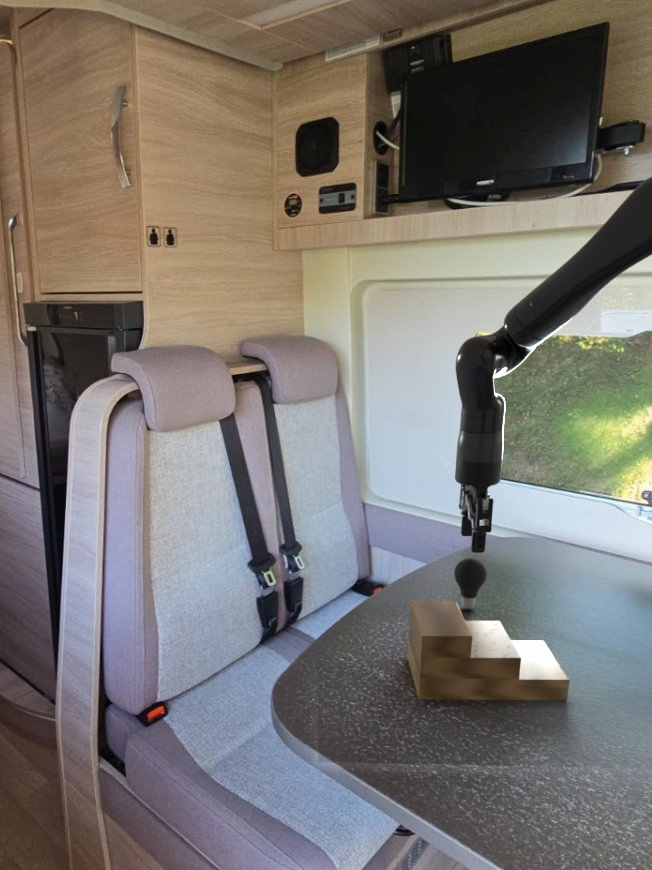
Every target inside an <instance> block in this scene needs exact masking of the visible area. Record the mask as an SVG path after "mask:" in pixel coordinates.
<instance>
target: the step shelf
mask: <svg viewBox="0 0 652 870" xmlns="http://www.w3.org/2000/svg"><path fill="white" fill-rule="evenodd" d="M408 622H409V625H408V645H407V646H408V648H407V661H408V665H409V668H410V671H411V675H412V679H413V683H414V685H415V687H414V688H415V690H416V694H417V697H418V700H440V701H441V700H443V701H445V700H447V701H449V700H451V701H452V700H453V701H455V700H457V701H460V700H461V701H540V702H542V701H543V702H544V701H545V702H547V701H550V702H553V701H554V702H567V701H568V694H569V687H570V678H569V677H568V676H567V674H566V672H565V671H564V669H563V668H562V666H561V665H560V663H559V661H558V660H557V659H556V657H555V655H554V654H553V652H552V651H551V649H550V648H549V647H548V644H547V643H546V642H545V640H543V639H542V640H541V639H539V640H538V639H537V640H535V639H534V640H531V639H530V640H528V639H527V640H523V639H522V640H520V639H517V640H512V639H511V638H510V636H509V634H508V633H507V631H506V629H505V628H504V626H503V623H502V622H501V620H466V619H465V618H464V616H463V613H462V611H461V609H460V607H459V605H458V603H457V600H410V601H409V621H408Z"/></svg>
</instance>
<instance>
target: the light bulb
mask: <svg viewBox="0 0 652 870" xmlns="http://www.w3.org/2000/svg"><path fill="white" fill-rule="evenodd" d="M487 575H488V571H487V568H486V566H485V564H484V563H483V562H482V561H481V560H479V559H478V558H475V557H466V558H463V559H462V560H460V561H459V562H458V563H457V564H456V566H455V567H454V579H455V582H456V584H457V586H458V587H459V590H460V596H461V600H460V603H461V607H463V608H464V609H465V610H468V611H470V610H471V609H472V608H475V606H476V599H477V595H478V594H479V590H480V589H481V588H482V586H483V585H484V583H485V582H486V580H487Z"/></svg>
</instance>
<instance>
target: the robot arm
mask: <svg viewBox="0 0 652 870" xmlns="http://www.w3.org/2000/svg"><path fill="white" fill-rule="evenodd" d="M651 256H652V176H650V177H648V178H646V179H645V180H644V181H642V182H640V183H639V184H638V185H637V186H636V187H635V189H634V190H632V191H631V193H630V194H629V195H628V196H627V197H626V199H624V201H622V203H621V204H620V205H619V207H618V208H616V210H615V211H614V212H613V213H612V215H610V217H609V218H608V219H607V220H606V221H605V222H604V223H603V225H602V226H601V227H600V228H599V229H598V230H597V232H595V234H593V236H592V237H590V238H589V240H588V241H587V242H586V243H585V244H584V245H583V246H581V248H580V249H579V250H578V251H576V253H575V254H573V255H572V256H571V257H570V258H569V259H568V260H567V261H566V262H564V264H562V265H561V266H560V267H559V268H558V269H557V270H555V271H554V272H553V273H551V275H549V276H548V277H546V279H545V280H543V281H542V282H541V283H540V284H539V285H537V286H536V287H535V288H534V289H532V290H531V291H530V292H529V293H528V294H527V295H526V296H524V297H523V298H522V299H521V300H519V302H517V303H516V304H515V305H514V306H513V307H512V308H510V309H509V311H508V312H507V313H506V314H505V317H504V319H503V325H502V326H501V327H500V328H499V329H498V330H496V331H495V332H493V333H491V334H485V335H476V336H472V337H470V338H468V339H466V340H465V341H464V342H463V343H462V344H461V346H460V347H459V349H458V351H457V354H456V359H455V376H456V382H457V389H458V395H459V398H460V402H461V410H460V422H459V432H458V437H457V444H456V457H455V468H454V469H455V471H454V480H455V482H456V483H458V484H460V491H459V502H458V508H459V510H460V515H461V524H460V535H461V536H462V537H471V541H470V551H471V552H472V553H473V554H481V553H485V550H486V542H487V541H486V540H487V534H488V533H491V532H492V530H493V529H492V528H493V527H492V523H493V511H494V501H495V500H494V498H493V497H491V495H490V493H489V490H488V489H489V488H490V487H493V486H496V485H498V484H499V483H500V482H501V477H502V466H503V457H504V455H503V454H504V442H505V441H504V429H505V428H504V427H505V426H504V425H505V415H506V401H505V397H503V395H501V394H499V393H496V391H495V383H494V379H496V378H500V377H502V376H505V375H507V374H509V373H511V372H512V371H513V370H515V369H516V368H517V367H519V366H520V365H521V364H522V363H523V362H524V361H525V360H526V359H527V358H528V357H529V356H530V354H531V353H533V352H534V350H535V349H536V347H537V346H539V345H540V344H542V343H543V342H544V341H545V340H546V339H548V338H549V337H551V336H552V335H553V334H554V333H556V332H558V331H559V330H560V329H561V328H562V327H563V326H565V325H566V324H568V323H569V322H570V321H571V320H572V319H573V318H575V317H576V316H577V315H578V314H579V313H580V312H581V311H582V310H583V309H584V308H585V307H586V306H587V305H588V304H589V303H590V301H592V299H593V298H595V296H596V295H598V293H599V292H600V291H602V289H604V288H605V287H606V286H607V285H608V284H610V282H612V281H613V280H614V279H615V278H617V277H618V276H620V275H621V274H622V273H624V272H625V271H627V270H628V269H630V268H631V267H633V266H635V265H637V264H638V263H641V262H642V261H644V260H645V259H647V258H649V257H651ZM481 521H482V523H483V524H482V525H481V524H480V523H481Z"/></svg>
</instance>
